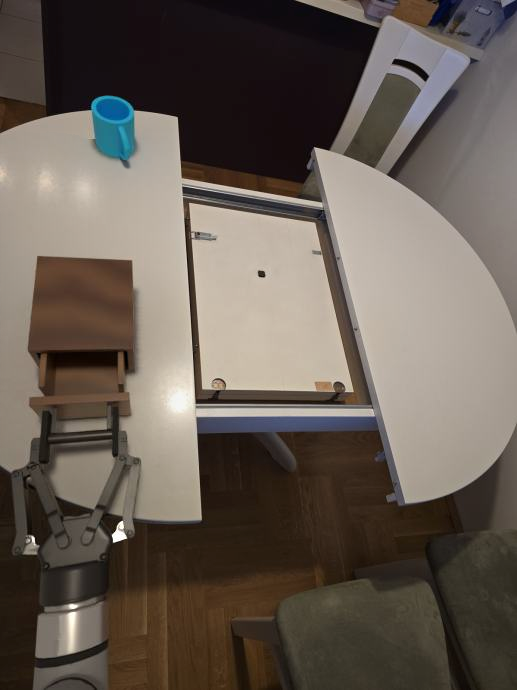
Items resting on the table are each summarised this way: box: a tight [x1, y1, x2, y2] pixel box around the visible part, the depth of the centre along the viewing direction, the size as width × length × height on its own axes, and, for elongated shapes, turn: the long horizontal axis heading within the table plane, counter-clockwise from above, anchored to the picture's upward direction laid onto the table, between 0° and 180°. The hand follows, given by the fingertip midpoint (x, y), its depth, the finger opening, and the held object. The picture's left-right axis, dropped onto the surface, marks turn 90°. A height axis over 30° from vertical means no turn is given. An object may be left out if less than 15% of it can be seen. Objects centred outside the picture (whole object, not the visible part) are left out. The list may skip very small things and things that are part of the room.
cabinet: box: [27, 255, 135, 373], centre depth 62 cm, size 16×14×10 cm
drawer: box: [28, 351, 132, 446], centre depth 58 cm, size 20×13×8 cm, turn 8°
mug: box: [90, 95, 136, 161], centre depth 82 cm, size 12×8×8 cm
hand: (82, 411), depth 54 cm, fingers closed on drawer, 8 cm apart
